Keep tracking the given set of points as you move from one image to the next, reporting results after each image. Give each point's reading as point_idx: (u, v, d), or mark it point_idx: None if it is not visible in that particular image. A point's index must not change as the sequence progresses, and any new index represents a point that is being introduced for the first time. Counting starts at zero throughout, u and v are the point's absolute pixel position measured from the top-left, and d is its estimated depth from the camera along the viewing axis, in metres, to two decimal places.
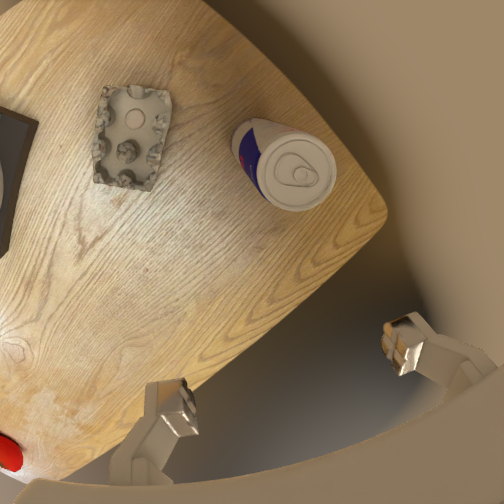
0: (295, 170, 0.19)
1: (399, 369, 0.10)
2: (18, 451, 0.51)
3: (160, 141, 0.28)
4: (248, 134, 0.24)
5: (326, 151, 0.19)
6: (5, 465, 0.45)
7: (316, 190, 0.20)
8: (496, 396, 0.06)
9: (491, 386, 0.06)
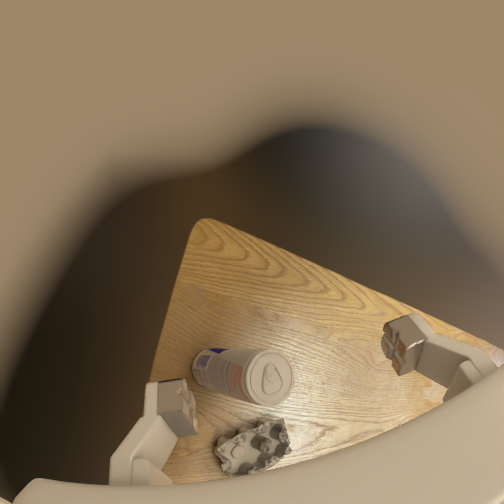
0: (271, 381, 0.27)
1: (398, 369, 0.10)
2: None
3: (250, 431, 0.36)
4: None
5: (249, 371, 0.26)
6: None
7: (273, 358, 0.28)
8: (495, 396, 0.06)
9: (491, 386, 0.06)
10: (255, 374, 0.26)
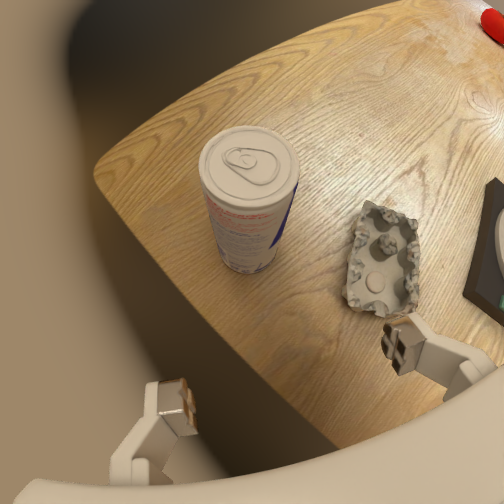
0: (253, 165, 0.16)
1: (398, 369, 0.10)
2: (484, 23, 0.48)
3: (355, 250, 0.28)
4: (277, 237, 0.22)
5: (212, 186, 0.16)
6: (500, 15, 0.42)
7: (224, 144, 0.17)
8: (495, 396, 0.06)
9: (491, 386, 0.06)
10: (224, 181, 0.16)
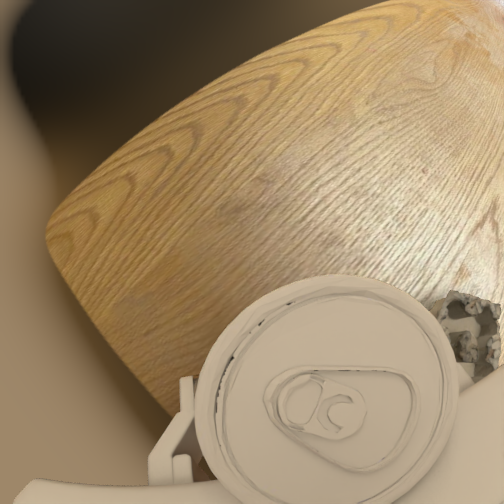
0: (358, 424, 0.05)
1: None
2: None
3: None
4: None
5: (243, 490, 0.04)
6: None
7: (268, 354, 0.05)
8: (495, 396, 0.06)
9: (491, 386, 0.06)
10: (274, 473, 0.05)
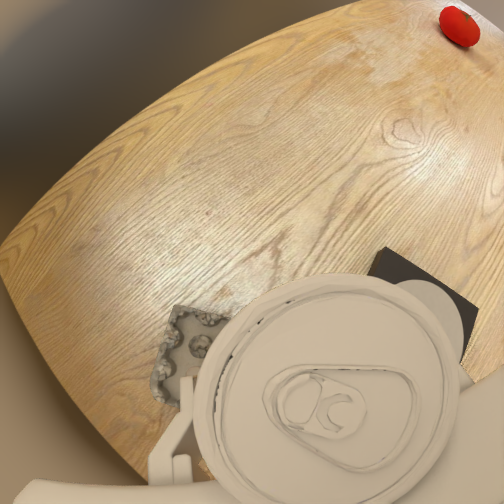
0: (358, 424, 0.05)
1: None
2: (442, 25, 0.49)
3: (162, 353, 0.29)
4: None
5: (242, 490, 0.04)
6: (461, 14, 0.43)
7: (267, 353, 0.05)
8: (495, 396, 0.06)
9: (491, 386, 0.06)
10: (273, 473, 0.05)
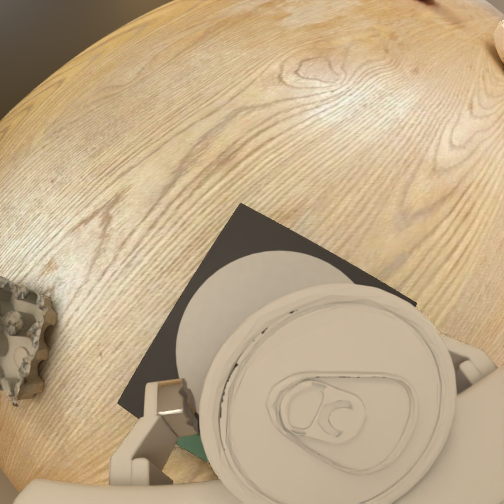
0: (358, 428, 0.05)
1: None
2: None
3: None
4: None
5: (247, 492, 0.05)
6: None
7: (271, 361, 0.05)
8: (495, 396, 0.06)
9: (491, 386, 0.06)
10: (276, 475, 0.05)
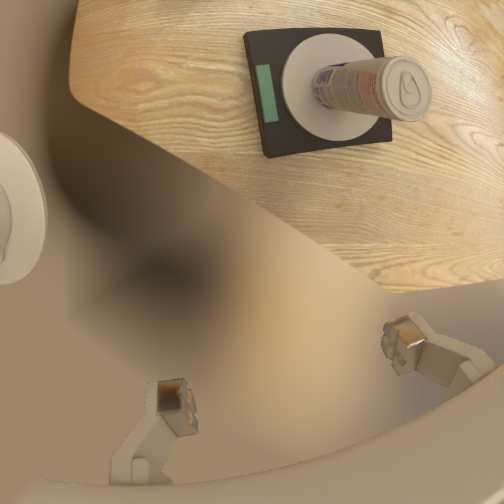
0: (409, 92, 0.19)
1: (398, 369, 0.10)
2: None
3: None
4: None
5: (385, 77, 0.19)
6: None
7: (409, 67, 0.18)
8: (495, 396, 0.06)
9: (491, 386, 0.06)
10: (391, 82, 0.19)
